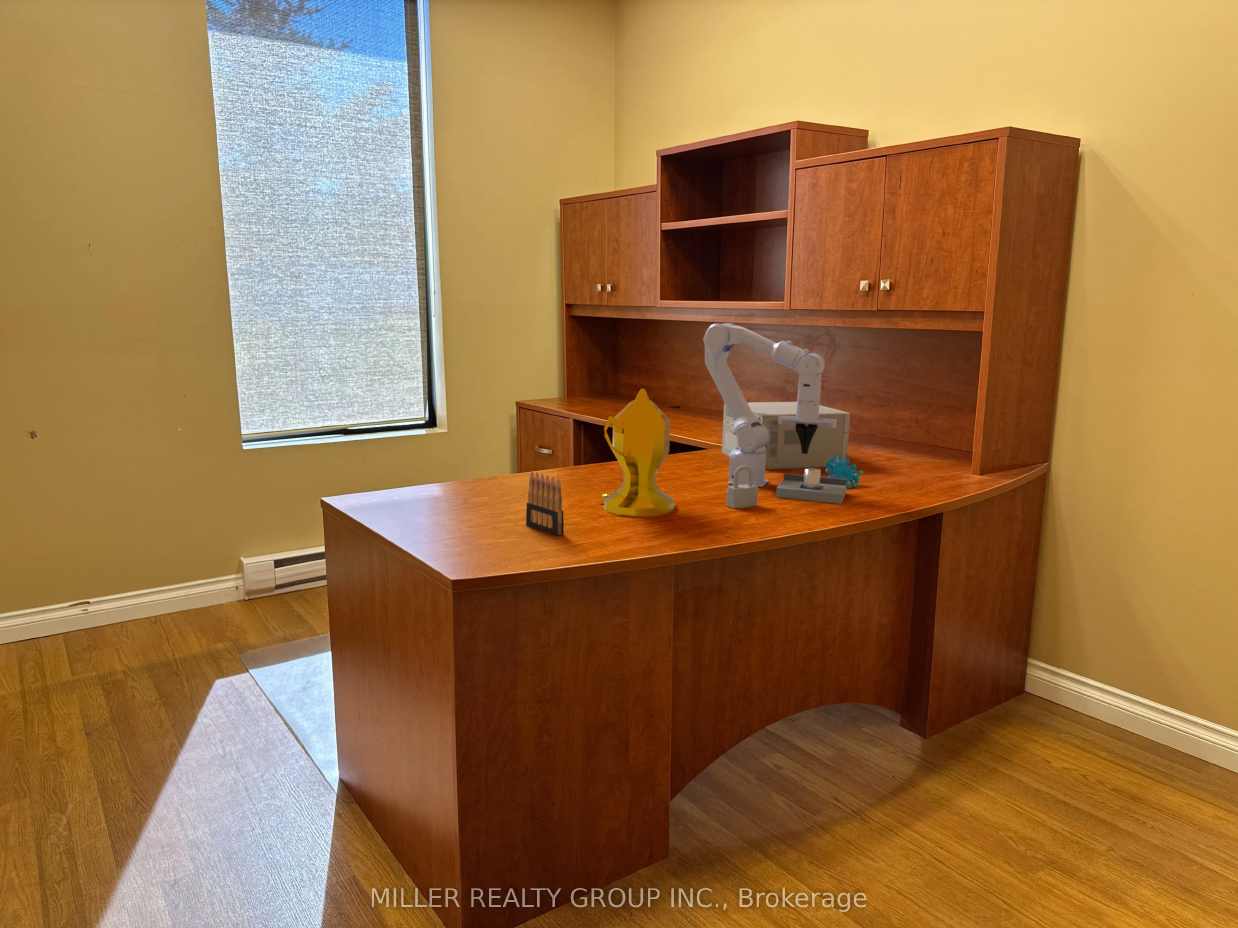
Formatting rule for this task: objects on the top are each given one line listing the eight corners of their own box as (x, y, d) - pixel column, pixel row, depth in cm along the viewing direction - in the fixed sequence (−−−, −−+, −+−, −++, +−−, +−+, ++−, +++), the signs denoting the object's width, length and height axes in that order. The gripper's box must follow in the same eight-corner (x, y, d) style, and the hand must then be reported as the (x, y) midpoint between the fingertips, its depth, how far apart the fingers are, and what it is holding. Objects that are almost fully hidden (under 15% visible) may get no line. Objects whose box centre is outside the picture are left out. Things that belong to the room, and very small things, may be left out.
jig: (776, 497, 215) (776, 481, 214) (783, 487, 226) (784, 473, 225) (841, 503, 209) (842, 488, 209) (845, 493, 220) (846, 478, 220)
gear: (831, 483, 224) (824, 452, 230) (821, 495, 229) (814, 464, 235) (868, 488, 227) (861, 457, 233) (857, 499, 232) (850, 469, 237)
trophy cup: (575, 511, 196) (577, 389, 190) (634, 492, 216) (638, 382, 210) (638, 524, 186) (642, 396, 181) (694, 503, 206) (699, 388, 200)
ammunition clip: (525, 525, 183) (525, 470, 181) (532, 523, 184) (532, 469, 182) (557, 536, 175) (557, 479, 173) (563, 534, 177) (564, 478, 174)
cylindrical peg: (800, 497, 215) (802, 470, 214) (804, 494, 219) (806, 467, 217) (816, 499, 214) (818, 471, 212) (820, 496, 217) (822, 469, 216)
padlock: (748, 503, 208) (751, 462, 206) (758, 506, 205) (761, 466, 203) (724, 505, 205) (726, 465, 203) (734, 509, 201) (736, 468, 199)
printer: (846, 467, 256) (850, 413, 253) (759, 470, 248) (762, 414, 245) (801, 450, 282) (804, 401, 279) (721, 453, 274) (724, 402, 270)
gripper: (777, 400, 217) (774, 453, 220) (835, 404, 212) (831, 458, 215) (782, 397, 224) (778, 448, 226) (838, 401, 219) (834, 453, 222)
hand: (804, 453), depth 221 cm, fingers closed
